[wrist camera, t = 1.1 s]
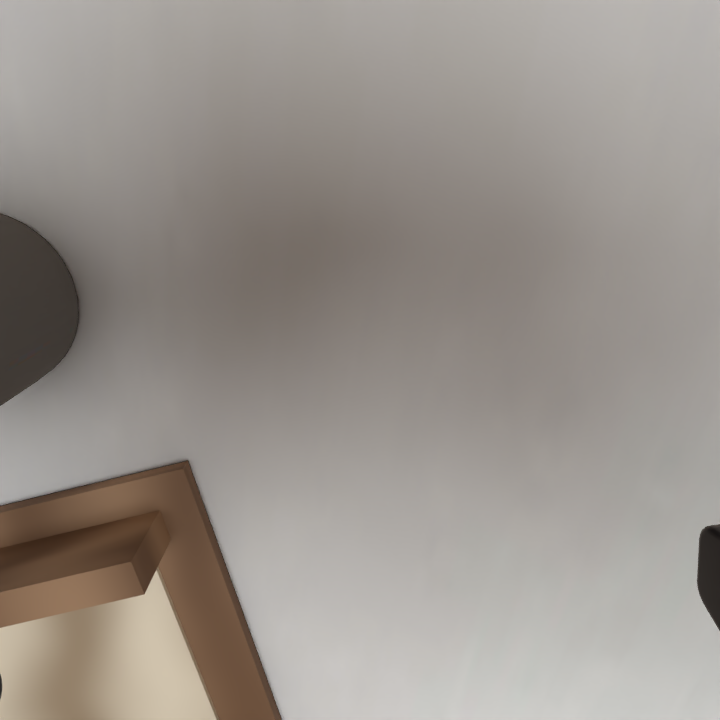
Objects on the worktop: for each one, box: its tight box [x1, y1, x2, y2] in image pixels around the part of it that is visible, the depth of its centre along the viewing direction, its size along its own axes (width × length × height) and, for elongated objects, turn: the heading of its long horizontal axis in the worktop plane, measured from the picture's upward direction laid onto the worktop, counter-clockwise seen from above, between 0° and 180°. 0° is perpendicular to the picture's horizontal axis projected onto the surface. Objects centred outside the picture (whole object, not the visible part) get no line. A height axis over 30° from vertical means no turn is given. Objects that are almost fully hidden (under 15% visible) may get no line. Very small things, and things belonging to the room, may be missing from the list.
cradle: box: [0, 461, 281, 720], centre depth 22 cm, size 14×14×4 cm
